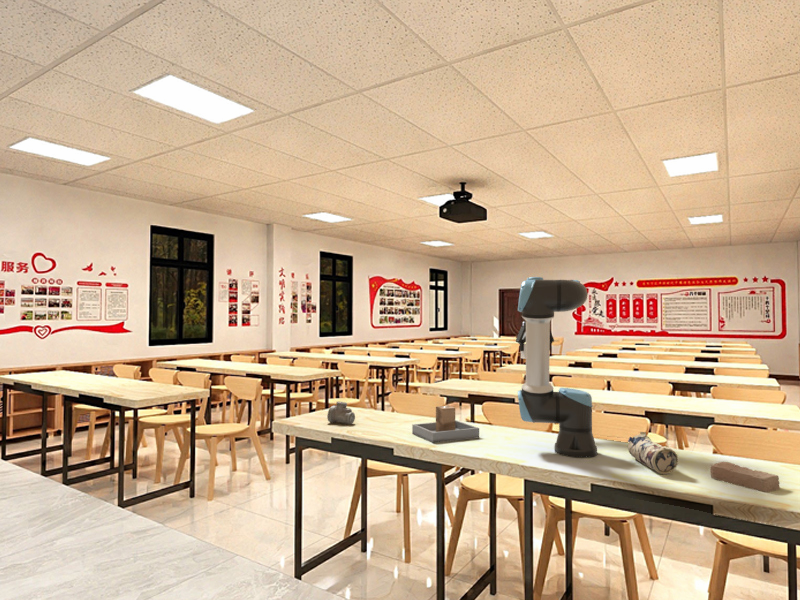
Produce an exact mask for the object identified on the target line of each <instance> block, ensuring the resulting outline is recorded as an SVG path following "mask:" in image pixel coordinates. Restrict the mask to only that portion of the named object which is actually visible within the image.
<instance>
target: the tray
mask: <svg viewBox="0 0 800 600" xmlns="http://www.w3.org/2000/svg"><path fill="white" fill-rule="evenodd" d="M411 426H412V428H411V429H412V432H411V434H412V435H414V436H416V437H419V438H421V439H423V440H425V441H427V442H430V443H432V444H434V443H435V444H436V443H437V444H438V443H446V442H454V441H465V440H472V439H479V438H480V428H479V427H477V426H474V425H471V424H469V423H465V422H462V421H460V420H456V419H455V430H450V431H441V432H436V421H435V422H424V423H414V424H413V423H412V425H411Z"/></svg>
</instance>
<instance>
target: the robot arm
mask: <svg viewBox="0 0 800 600" xmlns="http://www.w3.org/2000/svg"><path fill="white" fill-rule="evenodd" d="M587 299H588V290H587V288H586V286H585V285H584V284H583V283H581V281H580V280H578V279H544V278H543V277H541V276H531V277H527V279H526V280H523V281H522V282H521V285H520V290H519V297H518V306H517V311H518V312H519V313H521V317H522V319H523V320H524V321H521V325H520V330H519V331H518V333H517V337H516V339H515V342H516V343H518V344H519V351H520V359H525V382H524V383H523V384H522V385H521V389H520V390H518V391H517V399H518V408H519V414H520V419H521V420H522V421H524V422H528V423H534V424H535V423H538V424H539V423H543V424H559V425H558V426H559V427H558V428H559V429H558V432H557V433H558V434H557V437H556V442H555V443H554V446H553V449H554V452H555V453H556V454H558V455H562V456H565V457H569V458H570V457H572V458H593V457H596V456H597V455H598V447H597V445H596V440H595V439H594V435H593V434H594V433H593V398H592V397H593V396H592V395H591V394H590V393H589V392H587V391H584V390H580V389H575V388H569V387H560V388H559V390H558V391H554V387H553V385H552V384H551V383H550V357H551V356H550V352H551V344H553V343H555V339H554V336H553V334H552V333H553V332H552V331H551V326H550V325H551V320H553V319H554V317H555V313H560V312H561V313H562V312H570V311H574V310H576V309H578V308H580V307H582V306H583V305H585V303H586V301H587Z"/></svg>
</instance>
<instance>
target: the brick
mask: <svg viewBox="0 0 800 600" xmlns="http://www.w3.org/2000/svg"><path fill="white" fill-rule="evenodd" d="M709 472H710V477H711V478H712V479H714V480H717V481H721V482H723V481H724V483H727V482H728V483H727V484H731V483H732V484H731V485H736V486H739V487H743V488H747V489H751V490H755V491H759V492H762V493H770V492H773V491H778V490H780V477H779V475H778V474H772V473H769V472H766V471H761V470H757V469H755V470H753V469H750V468H749V467H746V466H740V465H738V464H735V463H731V462H728V461H721V462H718V463H717V462H716V463H714V464H711V465H710V469H709Z"/></svg>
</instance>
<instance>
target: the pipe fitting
mask: <svg viewBox="0 0 800 600" xmlns="http://www.w3.org/2000/svg"><path fill="white" fill-rule="evenodd" d="M347 406H348V403H347V402H345V401H339V400H338V401H336V405H332V406H330V408H329V409H328V411H327V418H326V419H327V421H328V422H329V423H331V422H332V423H331V424H334V423H333V422H335V423H337V422H338V423H341V424H345V425H348V424H349V425H348V426H351V425H352V424H354V423H355V420H356V415H355V413H354V412H353V411H352V408H350V407H349V408H348V407H347ZM350 424H351V425H350Z"/></svg>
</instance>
